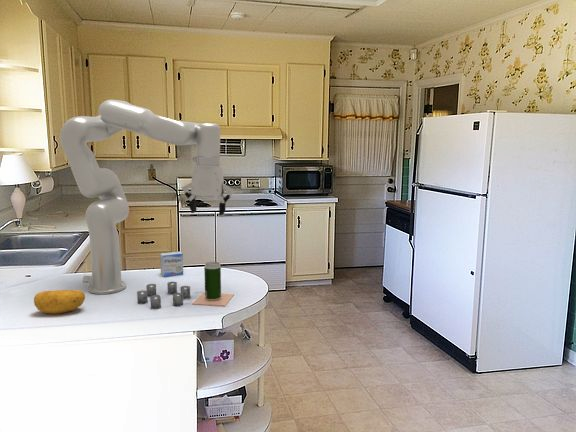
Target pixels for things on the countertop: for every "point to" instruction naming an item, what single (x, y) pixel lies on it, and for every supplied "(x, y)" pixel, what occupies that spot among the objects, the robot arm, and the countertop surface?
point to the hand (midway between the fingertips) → (207, 213)
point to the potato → (59, 301)
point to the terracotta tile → (221, 302)
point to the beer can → (212, 281)
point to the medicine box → (171, 264)
